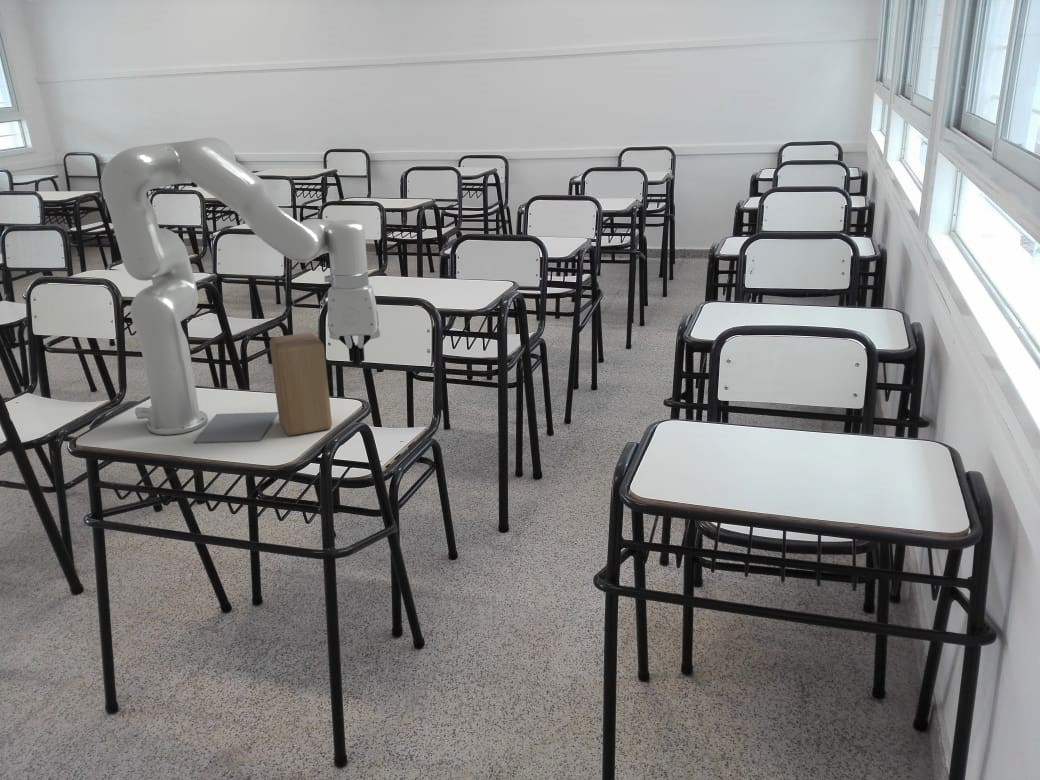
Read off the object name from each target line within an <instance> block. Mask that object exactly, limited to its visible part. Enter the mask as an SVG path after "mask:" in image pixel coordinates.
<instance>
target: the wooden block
mask: <svg viewBox="0 0 1040 780" xmlns="http://www.w3.org/2000/svg"><path fill="white" fill-rule="evenodd" d="M269 348H270V349H269V350H270V357H271V367H272V374H273V380H274V382H273V383H274V389H275V390H274V391H275V396H276V397H275V398H276V399H275V400H276V404H277V412H278V415H277V416H278V420H279V423H280V424H281V426H282V429H283V430H284V432H285V434H286V435H287V436H290V437H291V436H297V435H302V434H308V433H314V432H319V431H325V429H326V430H330V429H331V428H332V425H333V422H332V413H331V412H332V410H331V402H330V391H329V390H330V389H329V381H328V373H327V372H328V371H327V362H326V353H325V352H326V351H325V345H324V343H323V342H322V340H321V339H320V338H319V336H317V335H316V334H315V333H314V332H311V331H310V332H305V333H295V334H289V335H282V336H281V335H280V336H273V337H272V338H270V339H269Z"/></svg>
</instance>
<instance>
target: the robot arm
mask: <svg viewBox="0 0 1040 780" xmlns="http://www.w3.org/2000/svg"><path fill="white" fill-rule="evenodd" d="M187 183H194V184H195V185H197V187H199V188H201V189H202V190H204V191H205V192H206V193H208V194H209V195H211V196H213V197H214V198H215V199H217V200H218V201H219V202H221V203H222V204H224V205H225V206H226V207H227V208H229V209H230V210H232V211H234V212H235V213H237V215H239V216H240V218H241V219H242V221H243V222H244V223H245V225H247V227H248V228H249V229H250V230H251V231H252V232H253V233H254V234H255V235H256V236H257V237H258V238H259V239H260V240H261V241H263V242H264V243H265V244H266V245H268V247H271V248H272V249H274V250H275V251H277V253H279V254H281V255H282V256H284V257H285V258H287V259H289V260H292V261H294V262H297V263H309V262H311V261H313V260H314V259H316V258H317V257H319V256H321V255H323V254H327V253H328V254H329V255H328V256H329V263H330V264H329V266H330V274H328V275H325V276H324V283H328V284H330V285H331V286H330V287H329V288H328V291H327V322H328V323H327V325H328V327H327V328H328V331H329V332H328V333H329V335H328V336H329V339H331V340H336V341H340V342H341V343H342V344H344V345H345V346H346V348H347V349H348V356H349V358H348V359H349V362H352V367H356V366H357V367H361V365H362V363H363V362H365V360H366V359H365V358H366V357H365V348H364V347H365V345H366V344H368V342H369V341H370V340H374V339H378V338H380V336H381V331H380V329H379V328H380V327H379V322H380V321H379V314H378V313H379V312H378V307H377V301H376V300H377V299H376V297H375V296H376V295H375V292H374V287H373V285H372V284H370V283H369V281H370V280H369V269H368V257H367V246H366V235H365V234H366V233H365V226H364V224H363V223H362V222H361V221H359V220H355V219H340V220H328V219H320V218H307V219H305V220H303V221H300V222H299V221H298V220H296V219H295V218H293V217H292V216H290V215H289V214H288V213H287V212H285V211H284V210H282V209H281V208H280V207H279V206H278V205H277V204H276V203H275V202H274V201H273V199H272V198H271V196H270V194H269V191H268V187H267V185H266V183H265V181H264V180H263V179H262V178H260V177H259V176H258V175H257V174H256V173H253V172H252V171H251V170H249V169H248V168H247V167H245V166H244V165H242V163H240V162H238V161H237V159H236V154H235V152H234V150H233V148H232V147H231V146H230V145H229V144H228V143H227V142H225V141H224V140H222V139H221V138H218V137H217V138H216V137H204V138H203V137H202V138H197V139H196V138H195V139H194V140H186V141H185V140H183V141H176V142H175V141H174V142H167V143H166V142H164V143H157V144H156V143H155V144H150V145H149V144H147V145H142V146H141V145H140V146H135V147H130V148H128V149H124V150H122V151H120V152H119V153H117V154H116V155H115V156H113V157H112V158H111V159H110V160H109V161H108V162H107V164H106V165H105V167H104V169H103V171H102V175H101V189H102V194H103V198H104V201H105V203H106V206H107V210H108V212H109V215H110V219H111V224H112V228H113V232H114V235H115V238H116V242H117V245H118V249H119V253H120V256H121V260H122V263H123V265H124V269H125V270H126V272H127V273H128V274H129V275H130V276H131V277H132V278H133V279H135V280H138V281H144V282H145V281H147V282H148V281H151V282H152V284H151V285H149V286H147V287H145V288H142V290H141V291H139V292H138V293H137V294H136V295H135V297H134V298H133V300H132V301H131V305H130V317H131V321H132V324H133V326H134V329H135V331H136V334H137V337H138V341H139V345H140V350H141V354H142V359H143V360H142V361H143V365H144V370H145V375H146V382H147V387H148V393H149V399H150V404H151V405H150V406H149V407H145V406H142V407H136V408H135V409H134V413H135V417H136V419H137V420H140V419H141V420H142V419H147V420H149V421H148V422H147V426H146V427H147V429H148V431H149V432H150V433H152V434H156V435H164V436H166V435H179V434H184V433H189V432H192V431H195V430H198V429H200V428H201V427H204V426H205V425H206V424H208V421H209V419H208V416H209V415H208V414H207V413H206V412H205V411H203V410H200V408H199V407H200V406H199V401H198V394H197V388H196V382H195V376H194V370H193V364H192V358H191V351H190V347H189V346H190V345H189V342H188V338H187V336H186V334H185V332H184V330H183V327H182V323H181V322H182V321H184V320H185V319H187V318H188V317H190V316H191V315H192V314H193V313H194V312H195V311H196V309H197V307H198V306H199V305H198V304H199V293H198V288H197V284H196V280H195V276H194V271H193V269H192V268H193V267H192V265H191V261H190V257H189V253H188V250H187V247H186V245H185V243H184V242H183V240H182V238H180V236H179V235H178V234H176V233H175V232H174V231H172V230H170V229H167V228H160V226H159V222H158V219H157V214H156V212H155V209H154V207H153V205H152V202H151V201H150V200H149V198H148V195H147V193H148V192H149V191H151V190H153V189H154V190H155V189H158V188H159V189H160V188H164V187H167V186H172V185H178V184H180V185H181V184H187ZM354 336H355V337H356V336H357V344H356V342H355V341H354Z"/></svg>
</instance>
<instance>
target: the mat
mask: <svg viewBox="0 0 1040 780" xmlns="http://www.w3.org/2000/svg"><path fill="white" fill-rule="evenodd" d="M278 416H279V415H278V411H274V412H273V411H271V412H268V411H267V412H239V413H237V412H236V413H234V412H233V413H216V414H215V415H214V416H213V418H212V419H211V420H210V421H209V422H208V423H207V425H206V426H205V427H204V428H203V429H202V431H201V432H200V433H199V434H198V435H197V436H196V438H195V439H194V440H193V444H211V443H212V444H213V443H215V444H217V443H247V442H261V440H262V439H263V437H264V436H265V434H266V433H267V432H268V430H269V428H270V427H271V425H272V424H273V422H274V421H275V419H276V418H277V417H278Z"/></svg>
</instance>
